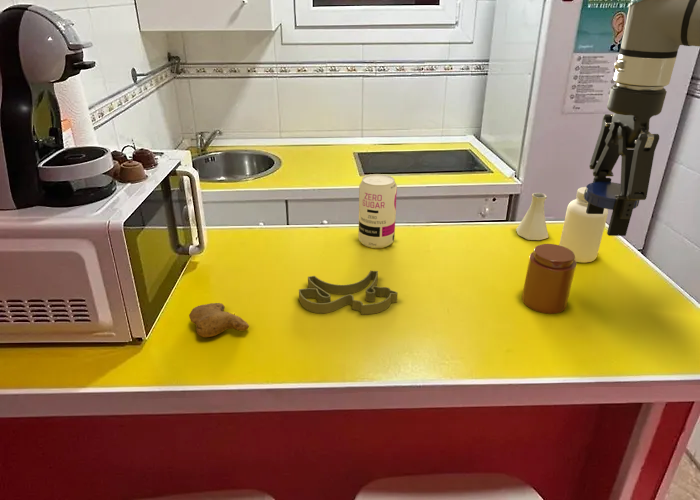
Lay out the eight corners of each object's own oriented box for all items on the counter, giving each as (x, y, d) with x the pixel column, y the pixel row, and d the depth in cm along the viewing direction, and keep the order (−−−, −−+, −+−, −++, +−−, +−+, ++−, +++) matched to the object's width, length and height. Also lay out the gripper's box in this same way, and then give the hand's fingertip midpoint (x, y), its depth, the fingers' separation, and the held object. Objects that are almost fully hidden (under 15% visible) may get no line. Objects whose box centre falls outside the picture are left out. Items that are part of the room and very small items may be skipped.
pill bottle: (550, 254, 114) (564, 190, 107) (568, 243, 119) (582, 181, 112) (586, 267, 109) (602, 201, 102) (602, 255, 114) (619, 191, 107)
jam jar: (572, 314, 94) (585, 263, 89) (528, 313, 94) (538, 262, 89) (558, 290, 101) (569, 242, 96) (516, 289, 101) (525, 241, 96)
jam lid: (633, 194, 89) (636, 184, 88) (642, 213, 82) (645, 202, 81) (581, 189, 91) (583, 179, 90) (586, 207, 84) (588, 196, 83)
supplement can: (389, 232, 124) (391, 172, 117) (397, 248, 116) (401, 185, 109) (355, 234, 122) (356, 174, 115) (362, 250, 115) (363, 187, 108)
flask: (510, 229, 126) (517, 190, 121) (537, 226, 127) (545, 188, 122) (525, 242, 119) (533, 202, 115) (554, 239, 121) (562, 199, 116)
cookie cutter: (386, 277, 105) (386, 269, 104) (401, 311, 94) (401, 301, 93) (297, 285, 102) (296, 276, 101) (302, 320, 92) (302, 311, 91)
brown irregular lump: (249, 337, 87) (248, 319, 86) (188, 344, 85) (185, 326, 84) (248, 305, 96) (246, 288, 94) (192, 310, 94) (189, 293, 92)
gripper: (587, 74, 87) (561, 200, 98) (648, 99, 69) (608, 251, 79) (632, 74, 87) (601, 200, 97) (705, 99, 68) (658, 252, 79)
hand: (604, 223), depth 88 cm, fingers closed on jam lid, 8 cm apart
